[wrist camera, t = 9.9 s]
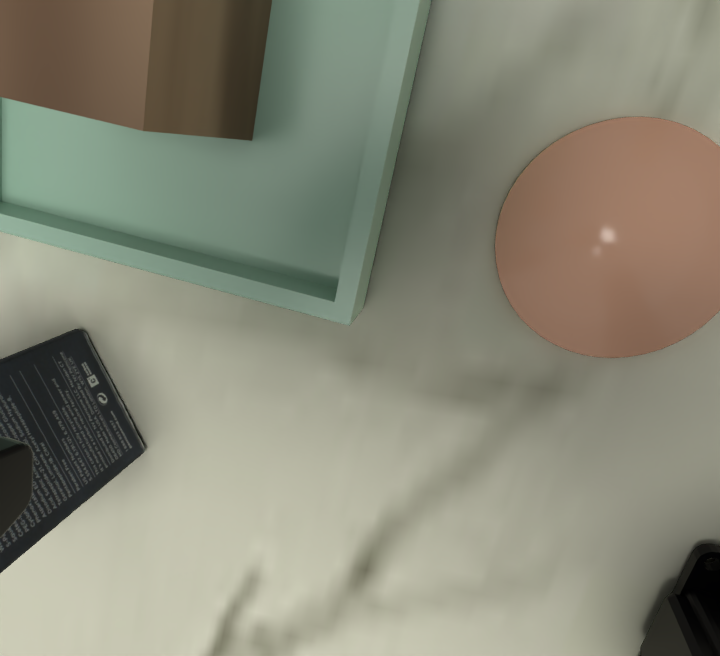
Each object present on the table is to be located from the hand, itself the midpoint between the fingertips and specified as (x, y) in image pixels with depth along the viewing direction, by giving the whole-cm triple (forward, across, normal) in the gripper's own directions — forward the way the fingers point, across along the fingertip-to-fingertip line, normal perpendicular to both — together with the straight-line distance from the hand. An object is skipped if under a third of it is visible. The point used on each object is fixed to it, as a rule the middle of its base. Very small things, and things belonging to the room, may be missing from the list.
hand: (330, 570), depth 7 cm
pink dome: (+12, -5, -4) cm, 14 cm away
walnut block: (+11, +9, -7) cm, 16 cm away
